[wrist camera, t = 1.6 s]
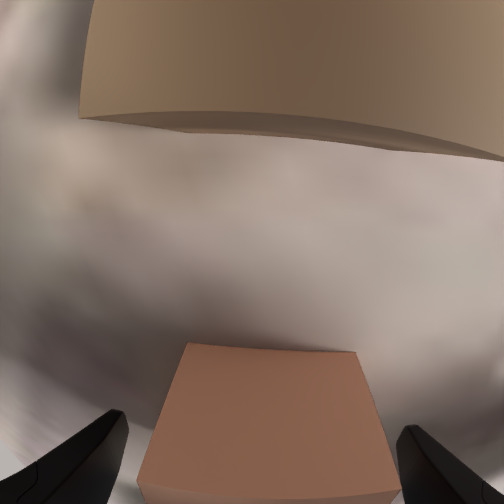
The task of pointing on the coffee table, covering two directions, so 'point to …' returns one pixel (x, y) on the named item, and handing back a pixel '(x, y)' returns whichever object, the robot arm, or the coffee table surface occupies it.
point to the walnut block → (304, 70)
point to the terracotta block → (268, 432)
